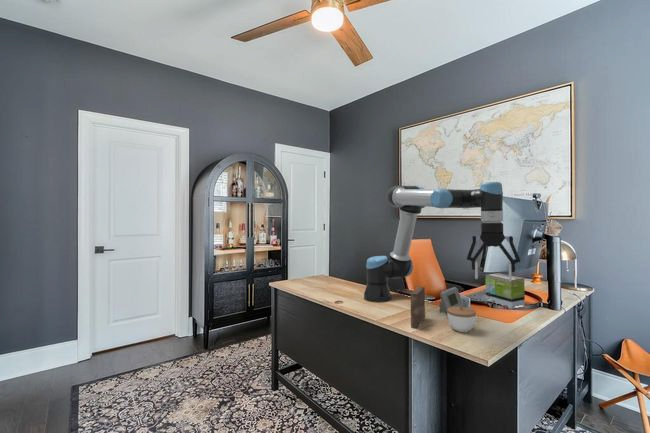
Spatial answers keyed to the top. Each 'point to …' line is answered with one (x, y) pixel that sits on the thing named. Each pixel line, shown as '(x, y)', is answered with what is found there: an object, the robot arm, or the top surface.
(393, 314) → the top surface
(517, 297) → the tea box
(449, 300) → the digital clock
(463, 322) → the lidded jar
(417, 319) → the walnut board
